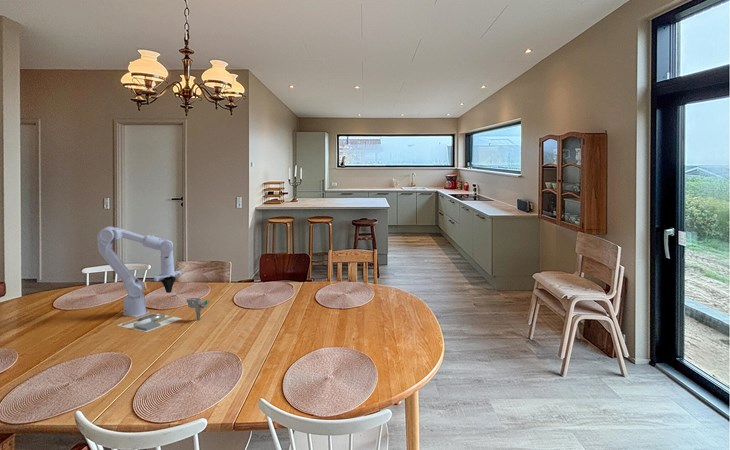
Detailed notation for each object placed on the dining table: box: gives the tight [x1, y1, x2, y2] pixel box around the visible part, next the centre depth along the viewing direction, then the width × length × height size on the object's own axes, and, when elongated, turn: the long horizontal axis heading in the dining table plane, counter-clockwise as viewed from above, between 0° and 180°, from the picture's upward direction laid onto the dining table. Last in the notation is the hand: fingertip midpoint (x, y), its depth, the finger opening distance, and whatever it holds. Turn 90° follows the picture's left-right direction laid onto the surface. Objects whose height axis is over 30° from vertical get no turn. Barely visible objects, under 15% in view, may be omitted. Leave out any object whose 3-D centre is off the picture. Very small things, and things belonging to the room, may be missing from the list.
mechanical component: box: [186, 297, 210, 321], centre depth 199 cm, size 3×10×10 cm, turn 78°
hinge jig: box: [116, 312, 183, 333], centre depth 196 cm, size 19×19×3 cm
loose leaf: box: [138, 313, 166, 322], centre depth 198 cm, size 8×7×2 cm
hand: (168, 292), depth 211 cm, fingers closed
